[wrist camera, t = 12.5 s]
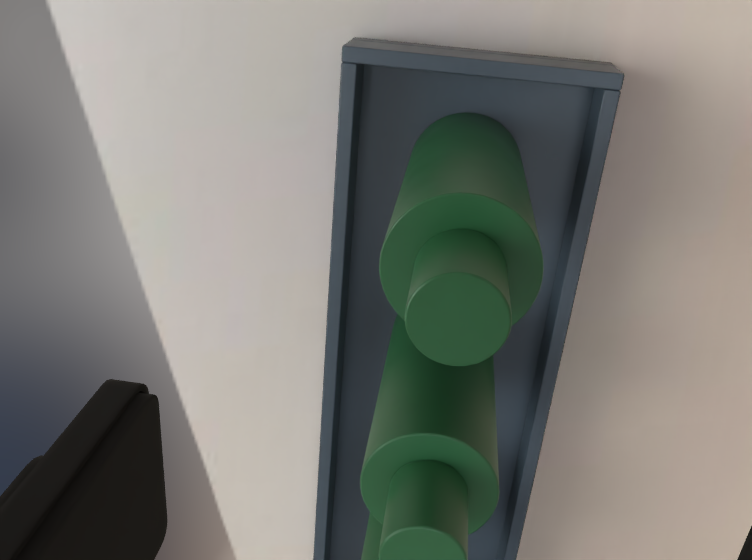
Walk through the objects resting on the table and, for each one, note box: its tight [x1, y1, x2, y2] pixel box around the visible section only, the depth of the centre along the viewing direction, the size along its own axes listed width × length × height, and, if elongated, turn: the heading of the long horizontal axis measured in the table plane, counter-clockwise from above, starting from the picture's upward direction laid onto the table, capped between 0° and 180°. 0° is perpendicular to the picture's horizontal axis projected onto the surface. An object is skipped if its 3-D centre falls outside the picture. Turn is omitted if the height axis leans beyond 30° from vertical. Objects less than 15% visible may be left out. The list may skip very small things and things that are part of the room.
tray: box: [313, 37, 624, 560], centre depth 34 cm, size 34×10×3 cm, turn 175°
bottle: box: [360, 314, 499, 560], centre depth 27 cm, size 5×5×14 cm
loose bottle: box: [379, 112, 544, 366], centre depth 23 cm, size 5×5×14 cm
